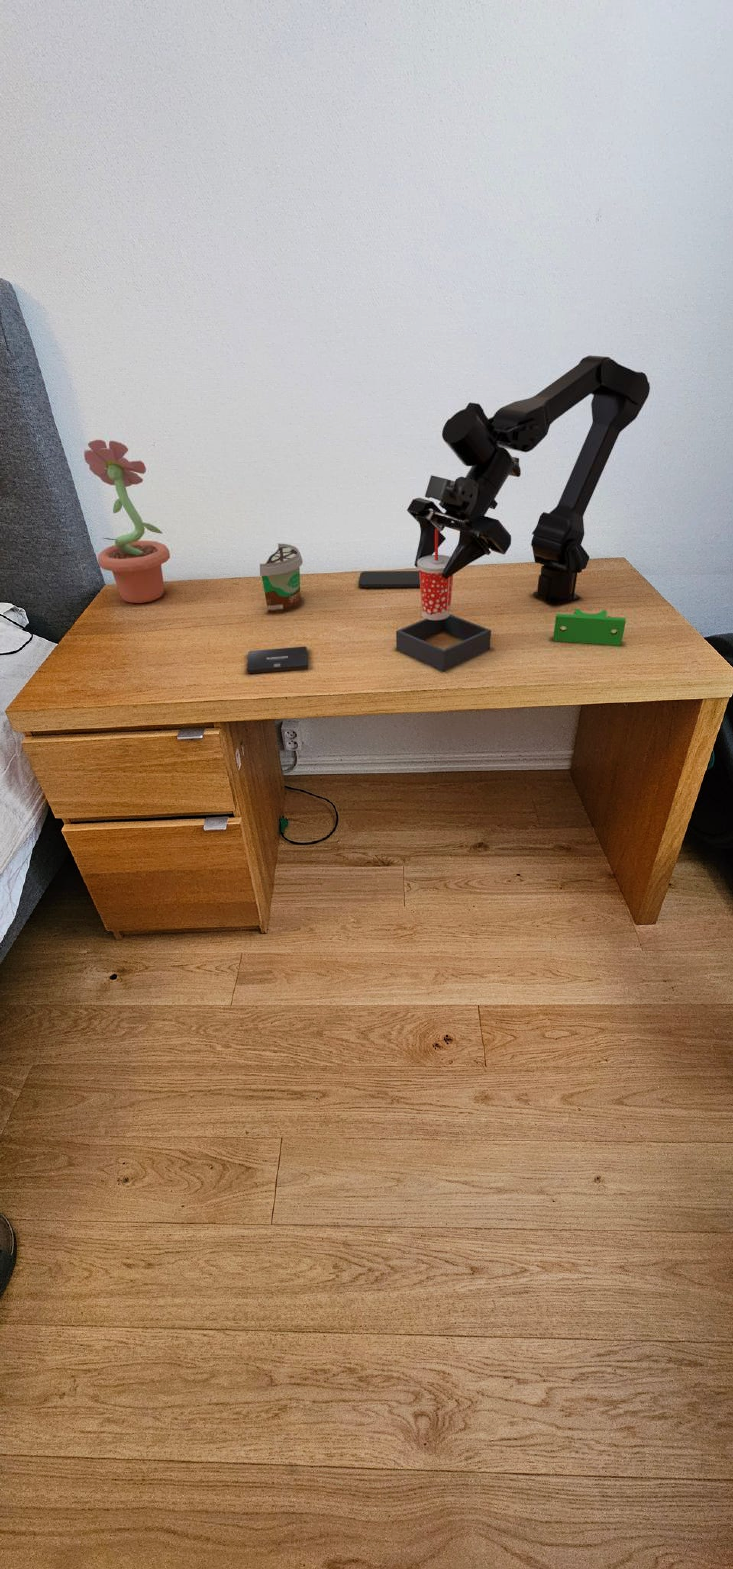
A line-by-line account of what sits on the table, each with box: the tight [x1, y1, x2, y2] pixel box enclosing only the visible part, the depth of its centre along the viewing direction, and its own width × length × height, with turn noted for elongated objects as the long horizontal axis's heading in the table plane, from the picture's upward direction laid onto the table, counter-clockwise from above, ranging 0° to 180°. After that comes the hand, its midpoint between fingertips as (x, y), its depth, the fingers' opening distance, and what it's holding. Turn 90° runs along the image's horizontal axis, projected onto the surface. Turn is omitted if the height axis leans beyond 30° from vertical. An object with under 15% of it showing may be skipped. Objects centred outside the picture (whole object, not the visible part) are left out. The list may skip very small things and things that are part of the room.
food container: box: [259, 543, 304, 614], centre depth 134 cm, size 12×6×10 cm, turn 168°
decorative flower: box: [83, 439, 171, 604], centre depth 134 cm, size 15×14×30 cm
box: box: [395, 613, 492, 672], centre depth 117 cm, size 11×11×4 cm
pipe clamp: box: [552, 608, 627, 646], centre depth 118 cm, size 11×4×5 cm, turn 75°
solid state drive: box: [246, 646, 309, 674], centre depth 117 cm, size 7×10×1 cm
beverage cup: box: [416, 529, 454, 620], centre depth 112 cm, size 6×6×14 cm
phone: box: [358, 570, 420, 589], centre depth 143 cm, size 7×1×15 cm
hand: (429, 572), depth 111 cm, fingers closed on beverage cup, 6 cm apart
